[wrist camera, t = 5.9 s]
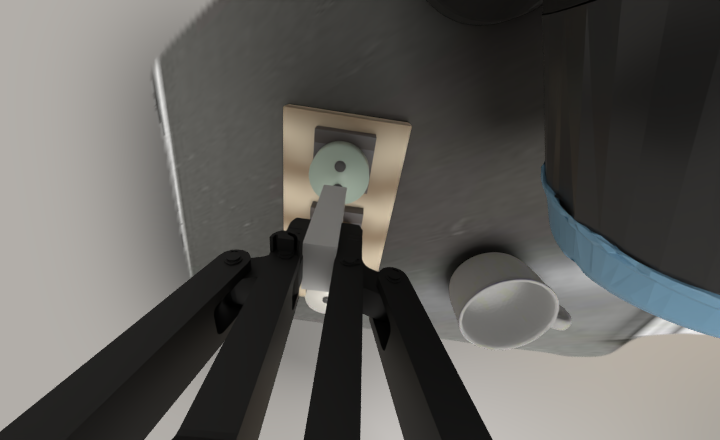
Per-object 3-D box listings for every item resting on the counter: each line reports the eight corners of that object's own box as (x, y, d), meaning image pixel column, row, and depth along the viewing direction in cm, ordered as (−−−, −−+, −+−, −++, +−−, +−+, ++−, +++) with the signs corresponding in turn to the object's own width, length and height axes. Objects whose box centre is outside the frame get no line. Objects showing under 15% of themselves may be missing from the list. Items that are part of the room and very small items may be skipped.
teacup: (427, 286, 37) (441, 336, 30) (472, 227, 32) (501, 271, 25) (506, 314, 40) (536, 365, 33) (559, 263, 35) (608, 311, 28)
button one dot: (311, 261, 33) (305, 282, 29) (351, 266, 33) (349, 287, 30) (309, 290, 35) (304, 312, 32) (346, 294, 35) (344, 317, 32)
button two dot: (317, 133, 23) (309, 143, 20) (372, 141, 24) (374, 152, 20) (314, 185, 26) (306, 201, 23) (364, 191, 26) (364, 209, 23)
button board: (288, 103, 26) (278, 108, 23) (408, 122, 26) (414, 129, 23) (287, 283, 38) (280, 302, 34) (370, 293, 38) (370, 312, 35)
